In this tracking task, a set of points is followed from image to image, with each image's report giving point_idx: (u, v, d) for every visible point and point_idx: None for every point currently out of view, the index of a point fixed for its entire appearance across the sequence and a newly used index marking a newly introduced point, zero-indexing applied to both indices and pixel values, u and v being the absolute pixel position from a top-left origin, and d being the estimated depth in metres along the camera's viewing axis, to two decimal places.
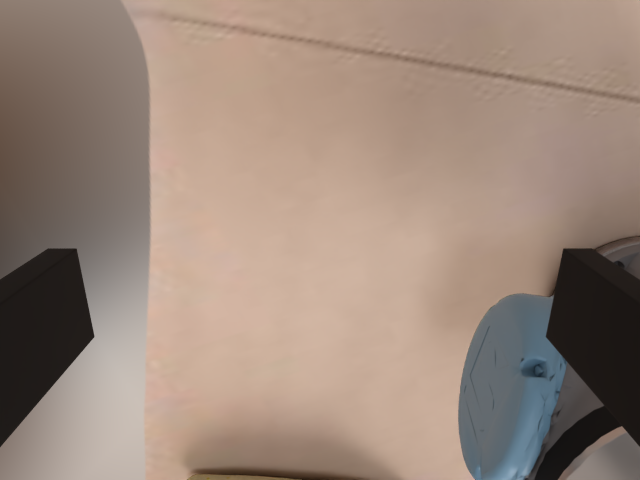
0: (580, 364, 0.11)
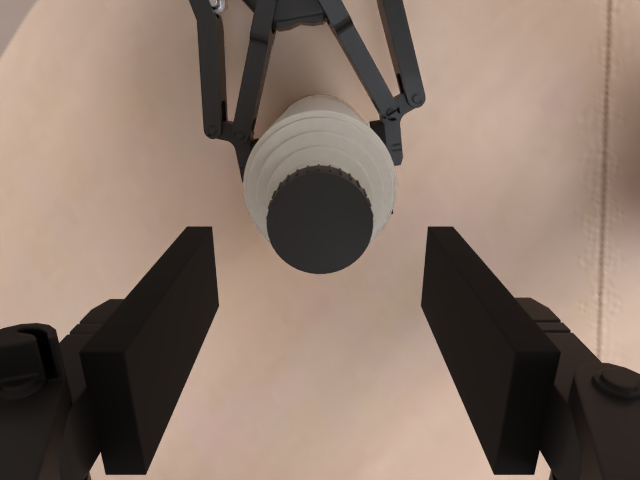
0: (434, 325, 0.13)
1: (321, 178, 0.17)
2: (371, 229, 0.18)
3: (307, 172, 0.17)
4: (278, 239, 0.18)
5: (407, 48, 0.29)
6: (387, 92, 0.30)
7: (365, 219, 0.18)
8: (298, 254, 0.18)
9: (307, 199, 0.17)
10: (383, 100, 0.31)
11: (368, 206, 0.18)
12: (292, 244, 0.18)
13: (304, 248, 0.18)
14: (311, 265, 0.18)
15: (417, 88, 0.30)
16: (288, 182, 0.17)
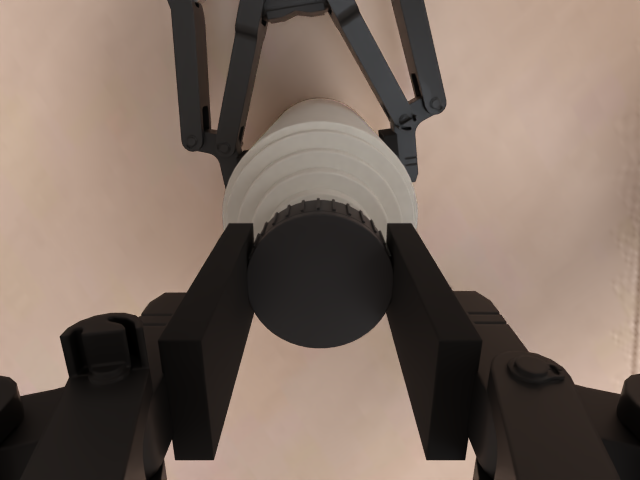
0: (391, 319, 0.13)
1: (322, 221, 0.12)
2: (391, 290, 0.13)
3: (302, 212, 0.12)
4: (262, 303, 0.13)
5: (425, 43, 0.24)
6: (400, 96, 0.25)
7: (383, 277, 0.13)
8: (290, 323, 0.13)
9: (302, 250, 0.12)
10: (396, 105, 0.26)
11: (388, 259, 0.13)
12: (282, 310, 0.13)
13: (298, 315, 0.13)
14: (308, 337, 0.13)
15: (437, 91, 0.25)
16: (275, 227, 0.12)
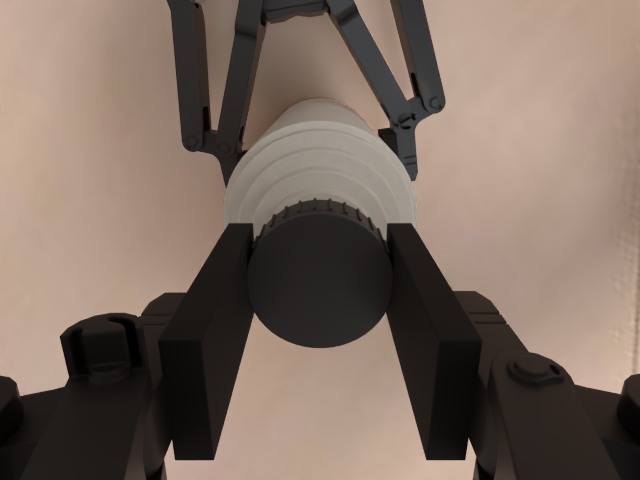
0: (391, 319, 0.13)
1: (258, 303, 0.13)
2: (298, 219, 0.12)
3: None
4: (358, 326, 0.13)
5: (424, 42, 0.24)
6: (400, 95, 0.25)
7: (287, 232, 0.12)
8: (370, 297, 0.13)
9: (291, 310, 0.13)
10: (395, 105, 0.26)
11: (268, 235, 0.12)
12: (359, 308, 0.13)
13: (359, 292, 0.13)
14: (381, 276, 0.13)
15: (436, 90, 0.25)
16: (280, 336, 0.14)
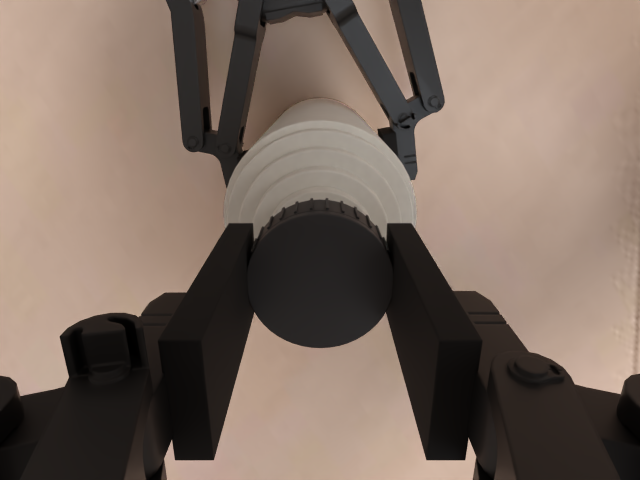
0: (391, 319, 0.13)
1: (360, 329, 0.13)
2: (264, 323, 0.13)
3: None
4: (351, 234, 0.12)
5: (423, 42, 0.25)
6: (399, 95, 0.26)
7: (280, 327, 0.13)
8: (314, 235, 0.12)
9: (357, 300, 0.13)
10: (394, 104, 0.26)
11: (289, 340, 0.13)
12: (331, 241, 0.12)
13: (313, 247, 0.12)
14: (288, 234, 0.12)
15: (435, 89, 0.25)
16: (390, 298, 0.13)
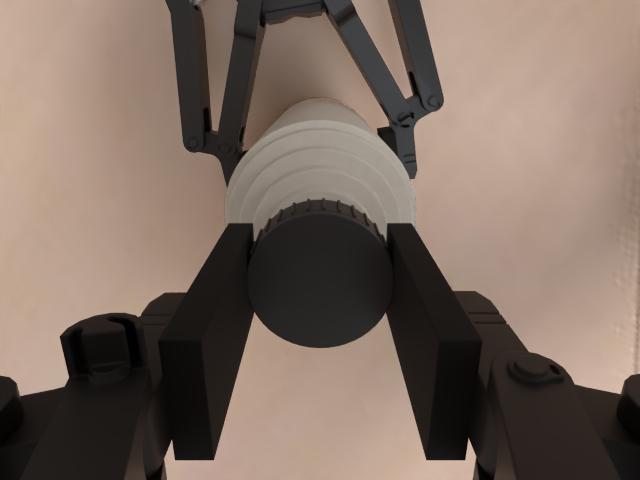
0: (391, 319, 0.13)
1: (354, 230, 0.12)
2: (379, 319, 0.13)
3: (340, 213, 0.12)
4: (258, 276, 0.13)
5: (422, 41, 0.25)
6: (398, 94, 0.26)
7: (379, 304, 0.13)
8: (273, 306, 0.13)
9: (323, 246, 0.12)
10: (394, 103, 0.26)
11: (391, 291, 0.13)
12: (273, 290, 0.13)
13: (285, 302, 0.13)
14: (282, 326, 0.13)
15: (434, 89, 0.26)
16: (310, 213, 0.12)
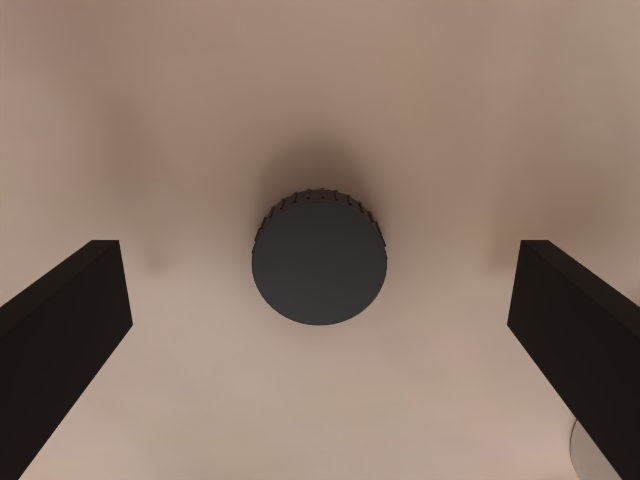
0: (534, 348, 0.12)
1: (350, 216, 0.14)
2: (373, 298, 0.14)
3: (337, 201, 0.14)
4: (263, 259, 0.14)
5: None
6: None
7: (373, 284, 0.14)
8: (277, 286, 0.14)
9: (321, 231, 0.14)
10: None
11: (384, 272, 0.14)
12: (276, 272, 0.14)
13: (287, 283, 0.14)
14: (284, 305, 0.15)
15: None
16: (310, 201, 0.13)
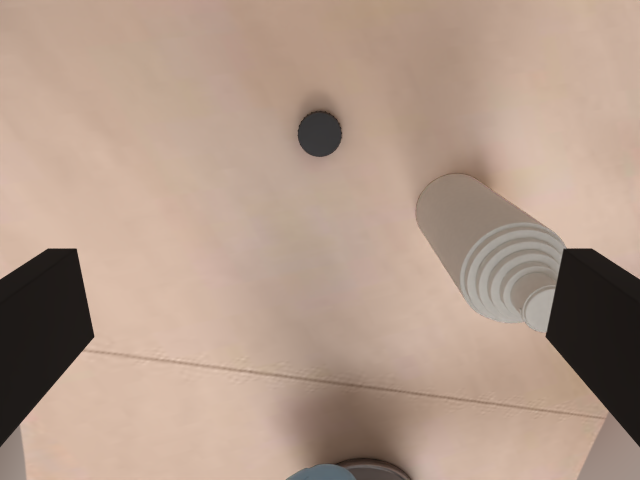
0: (580, 364, 0.11)
1: (329, 117, 0.43)
2: (337, 146, 0.44)
3: (325, 113, 0.44)
4: (301, 132, 0.44)
5: None
6: None
7: (337, 141, 0.44)
8: (306, 142, 0.44)
9: (320, 122, 0.44)
10: None
11: (340, 137, 0.44)
12: (305, 137, 0.44)
13: (309, 140, 0.44)
14: (308, 149, 0.45)
15: None
16: (317, 112, 0.43)
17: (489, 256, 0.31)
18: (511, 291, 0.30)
